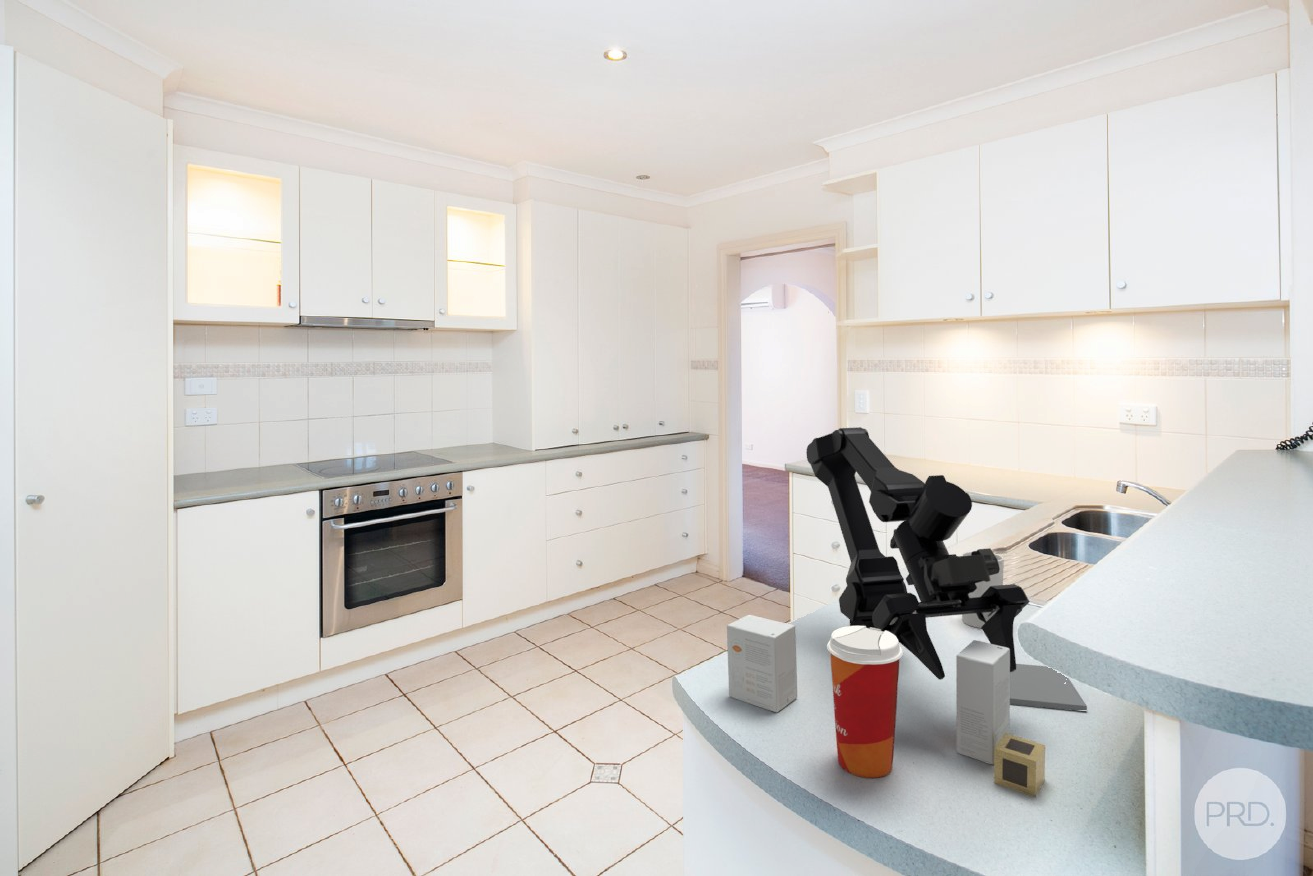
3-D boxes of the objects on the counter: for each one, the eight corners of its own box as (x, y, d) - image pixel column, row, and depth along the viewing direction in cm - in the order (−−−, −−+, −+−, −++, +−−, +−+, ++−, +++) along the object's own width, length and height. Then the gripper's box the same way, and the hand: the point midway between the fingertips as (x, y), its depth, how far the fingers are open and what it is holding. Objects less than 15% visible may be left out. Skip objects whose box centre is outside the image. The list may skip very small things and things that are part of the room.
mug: (1006, 631, 115) (1007, 562, 114) (963, 628, 117) (963, 560, 116) (996, 611, 125) (996, 548, 124) (956, 608, 127) (957, 546, 126)
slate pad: (1086, 712, 87) (1086, 706, 87) (985, 701, 91) (985, 695, 91) (1061, 672, 99) (1061, 667, 99) (972, 665, 102) (972, 659, 102)
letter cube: (1035, 797, 70) (1036, 761, 70) (994, 783, 73) (994, 748, 73) (1044, 780, 73) (1045, 745, 73) (1004, 767, 76) (1005, 733, 76)
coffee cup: (845, 736, 83) (844, 618, 82) (913, 758, 78) (913, 633, 77) (815, 768, 77) (813, 640, 76) (886, 794, 72) (886, 658, 70)
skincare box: (972, 732, 83) (973, 638, 82) (1010, 744, 80) (1011, 647, 79) (954, 753, 79) (955, 654, 78) (993, 766, 76) (994, 664, 75)
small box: (798, 698, 93) (797, 625, 93) (776, 714, 89) (775, 637, 88) (750, 682, 99) (748, 613, 98) (727, 697, 95) (726, 624, 94)
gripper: (881, 531, 83) (931, 653, 73) (1020, 522, 85) (1086, 638, 75) (854, 576, 91) (895, 692, 81) (980, 566, 94) (1035, 677, 84)
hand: (978, 674), depth 80 cm, fingers open, 9 cm apart
